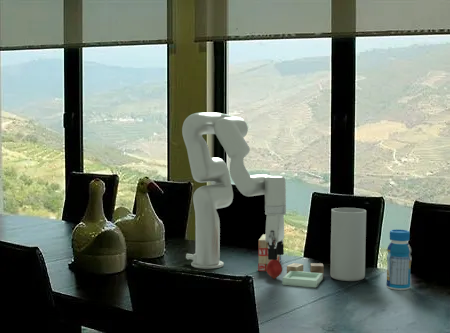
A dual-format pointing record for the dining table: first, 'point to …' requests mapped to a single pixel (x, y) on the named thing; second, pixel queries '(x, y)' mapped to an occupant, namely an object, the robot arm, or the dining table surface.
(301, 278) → the dish
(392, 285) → the beverage bottle
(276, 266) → the red round fruit
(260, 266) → the stack of blocks
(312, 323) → the dining table surface
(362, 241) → the cylinder vase
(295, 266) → the beech block
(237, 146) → the robot arm
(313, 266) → the walnut block
